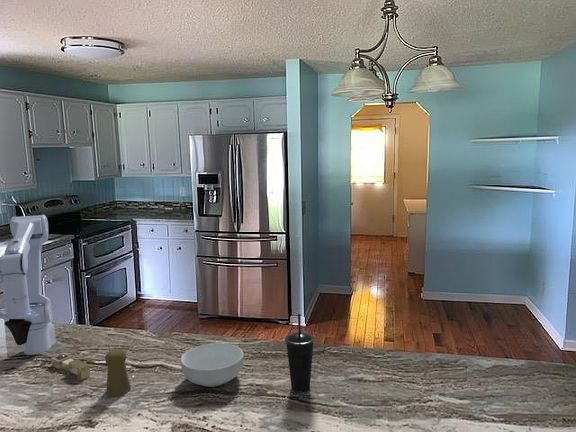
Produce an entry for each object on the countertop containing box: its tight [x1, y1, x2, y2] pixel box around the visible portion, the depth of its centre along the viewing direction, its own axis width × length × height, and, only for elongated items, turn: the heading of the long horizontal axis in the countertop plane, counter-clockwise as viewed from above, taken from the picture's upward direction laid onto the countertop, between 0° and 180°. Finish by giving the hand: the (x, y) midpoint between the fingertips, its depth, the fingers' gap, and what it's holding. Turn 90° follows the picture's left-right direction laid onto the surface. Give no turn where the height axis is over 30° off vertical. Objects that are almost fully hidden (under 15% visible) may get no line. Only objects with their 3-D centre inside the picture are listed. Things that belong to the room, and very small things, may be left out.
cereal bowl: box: [180, 342, 245, 388], centre depth 120 cm, size 17×17×7 cm
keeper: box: [69, 359, 91, 381], centre depth 123 cm, size 7×2×4 cm, turn 52°
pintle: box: [57, 353, 65, 360], centre depth 129 cm, size 2×2×4 cm
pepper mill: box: [104, 348, 132, 398], centre depth 115 cm, size 6×6×11 cm
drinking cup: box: [284, 313, 316, 393], centre depth 114 cm, size 8×8×20 cm
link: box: [50, 352, 78, 376], centre depth 127 cm, size 12×4×2 cm, turn 57°
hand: (21, 343), depth 123 cm, fingers closed
